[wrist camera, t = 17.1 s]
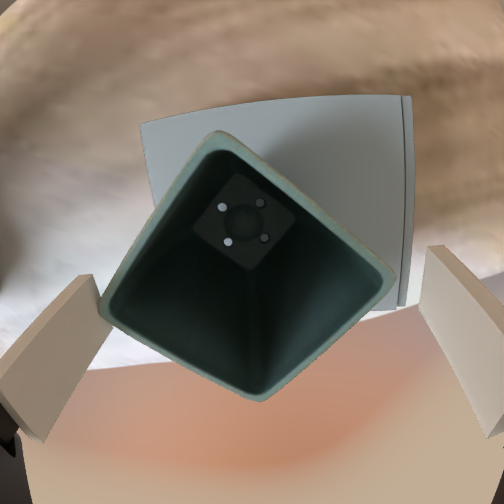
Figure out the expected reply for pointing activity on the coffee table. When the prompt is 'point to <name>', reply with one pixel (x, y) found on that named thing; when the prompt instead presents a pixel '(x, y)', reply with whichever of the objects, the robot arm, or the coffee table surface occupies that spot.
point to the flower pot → (242, 274)
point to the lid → (316, 162)
